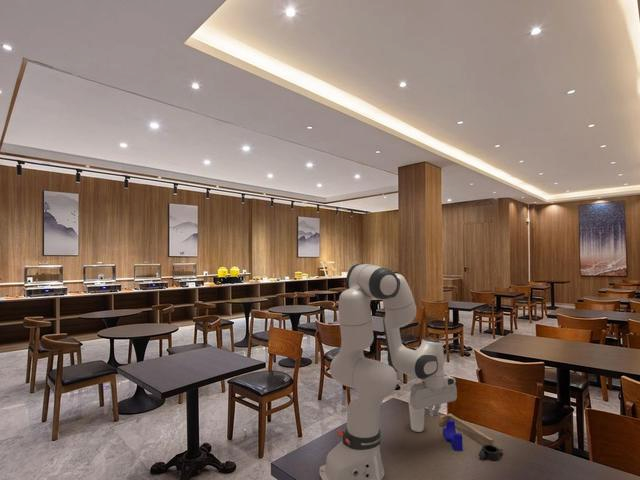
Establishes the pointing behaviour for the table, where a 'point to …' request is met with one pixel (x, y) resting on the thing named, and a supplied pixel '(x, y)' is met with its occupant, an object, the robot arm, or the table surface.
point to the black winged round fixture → (490, 452)
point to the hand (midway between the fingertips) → (434, 415)
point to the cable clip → (453, 436)
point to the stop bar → (467, 429)
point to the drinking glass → (416, 418)
